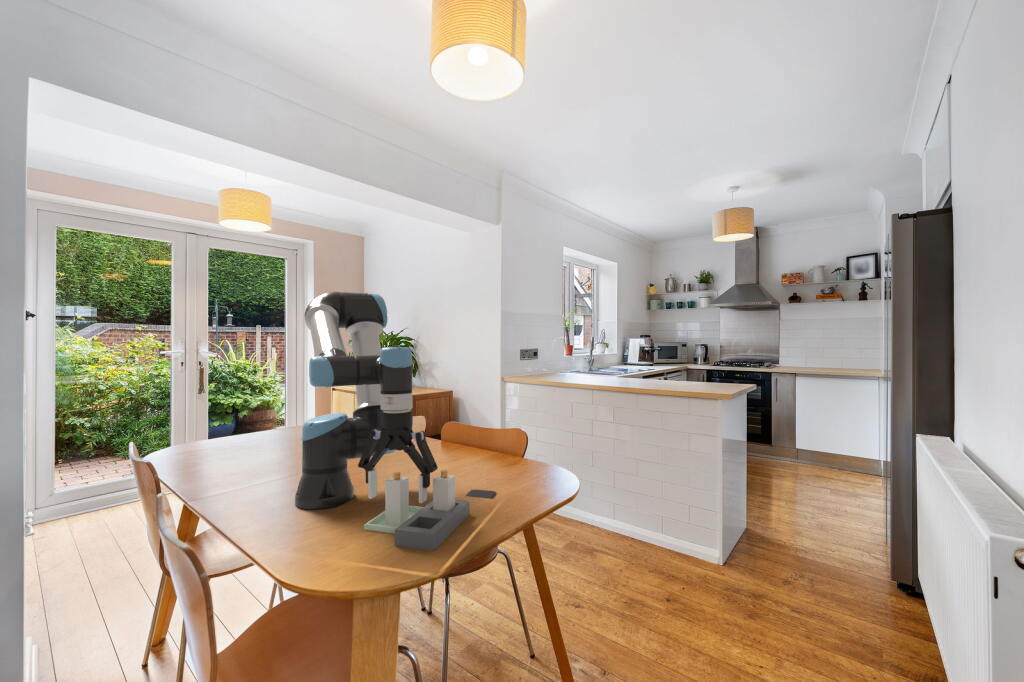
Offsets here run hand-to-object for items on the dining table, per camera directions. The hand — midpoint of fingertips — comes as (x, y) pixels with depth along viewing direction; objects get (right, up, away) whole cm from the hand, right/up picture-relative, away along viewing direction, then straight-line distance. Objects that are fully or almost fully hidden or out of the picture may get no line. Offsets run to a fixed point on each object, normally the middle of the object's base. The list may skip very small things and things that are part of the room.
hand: (397, 499), depth 106 cm
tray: (0, -6, 0) cm, 6 cm away
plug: (0, -5, 0) cm, 5 cm away
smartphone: (+18, -6, +14) cm, 24 cm away
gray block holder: (+10, -6, -5) cm, 12 cm away
